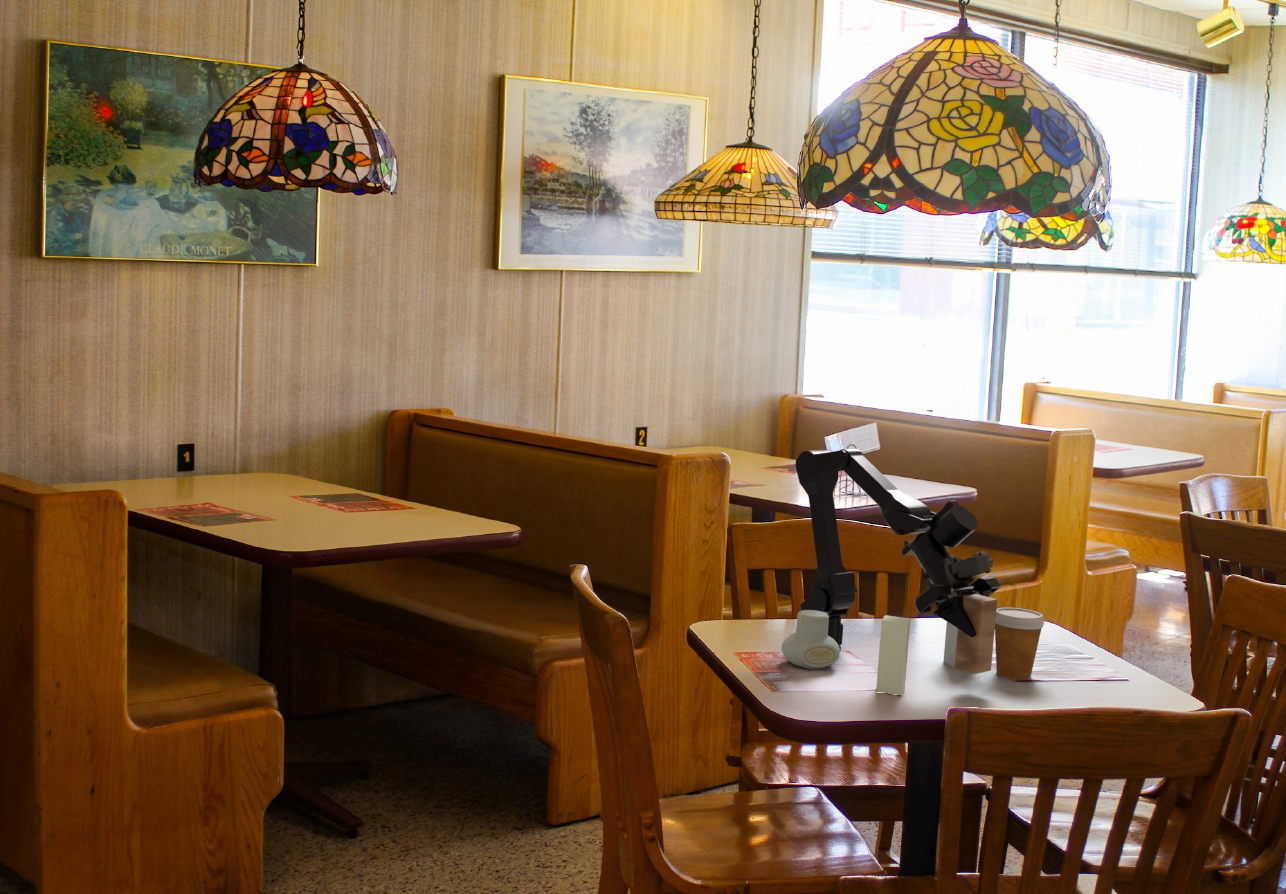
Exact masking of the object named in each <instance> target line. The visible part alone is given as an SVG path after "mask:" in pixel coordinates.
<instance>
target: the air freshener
mask: <svg viewBox="0 0 1286 894" xmlns="http://www.w3.org/2000/svg"><path fill="white" fill-rule="evenodd" d="M796 616H797V618H796V626H795V627H796V628H795V629H796V631H795V632H794V633H791V634H790V635H788V636H787V637H785V638H784V640H783V641H782V644H781V653H782V655H783V656H784V657H785V659H786V661H788V662H790V663H791V664H793V665H795V666H798V667H800V668H803V669H806V668H807V670H813V669H818V670H822V669H824V668H827V667H829V666H831V665H833V664H834V663H835V662H836V661H838V659H839V658H840V654H841V649H840V648H839V646H838V644H837V642H836V641H835V640H834V639H833V638H831V637H830V636H828V622H829V616H828V614H827V613H825V612H821V611H815V610H802V611H801V610H800V611H798V612H797V615H796Z"/></svg>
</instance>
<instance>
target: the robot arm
mask: <svg viewBox="0 0 1286 894" xmlns="http://www.w3.org/2000/svg"><path fill="white" fill-rule="evenodd" d="M794 466H795V470H796V474H797V478H798V482H799V485H800V486H801V487H802V489H803V490H804V492H805V493H806V495H807V497H808V503H809V510H810V511H809V512H810V520H811V527H812V534H813V541H814V542H813V543H814V551H815V559H816V570H815V571H814V572H815V573H814V575H813V578H812V579H811V580H812V581H811V594H810V595H809V596H808V597H807V598H806V599H805V600H804V601H802V602H801V603H800V611H802V610H815V611H821V612H825V613H827V614H828V616H829V622H828V636H830V637H831V638H833V639H834V640H835V641H836V642H837V644H838V646H839V648H840V650H841V649H842V644H843V635H844V634H843V633H844V624H843V623H842V617H841V616H847V615H848V613H849V611H850V608H851V606H852V605H853V604H854V602H855V601H856V593H858V589H857V587H856V575H855V573H854V571H849V572H848V571H847V569H846V567H845V566H844V565H843V562H842V560H843V559H842V554H841V553H842V552H841V546H840V545H841V544H840V535H839V530H838V529H839V528H838V521H837V520H838V519H837V513H836V505H835V498H834V491H835V489H836V486H837V483H838V481H839V472H844V473H845V474H846V475H847V476H848V477H849V478H850V479H851V480H852V481H854V483H855V484H856V485H858V487H860V488H861V490H862V491H863V492H864V493H866V495H868V496H869V498H870V499H872V501H874V503H876V505H878V507H879V508H880V510H881V513H882V518H883V520H884V521H885V522H886V524H887V525H888V526H889V528H890V529H891V530H892V532H893V533H895V534H896V535H898V536H907V535H916V536H915V537H914V538H913V539H909V540H904V541H903V547H902V551H901V555H902V556H909V555H910V556H911V555H912V556H913V555H914V557H916V560H917V561H918V563H919V565H920V566H921V567H922V569H923V571H924V574H923V575H922V576H921V577H922V579H923V580H924V581H925V582H926V581H930V582H931V584H929V586H927V588H925V589H924V590H923V591H921V592H920V594H918V595H917V596H916V597H914V607H915V608H916V611H917V612H918V613H919V615H922V614H928V613H930V612H931V610H932V605H933V604H935V608H936V609H935V610H934V611H933V612H932V615H934V616H935V617H936V616H937V617H938V618H941V619H942V620H944V621H945V622H946V623H947V622H949V623H950V624H952V625H953V626H955V627H956V628H958V629H959V630H961V631H962V632H964V633H965V634H967V635H968V636H970V637H972V638H973V637H975V636H976V635H977V634H976V631H975V629H974V627H973V625H972V623H971V621H970V619H969V617H968V615H967V613H966V611H965V609H964V608H963V596H967V595H974V594H978V595H982V596H986V597H990V598H991V596H993V595H994V594H995V593H996V592H997V591H999V590H1000V589H1001V586H1002V585H1001V584H1000V583H999V580H998V579H997V578H996V577H993V576H990V575H989V576H984V577H978V578H977V579H976V576H979V575H982V574H990V573H992V569H991V568H992V567H993V565H994V559H992V557H991V556H990V555H989V554H988V552H987V551H986V550H985V551H979V552H977V553H973V556H971V557H967V558H964V559H962V558H961V557H959V556H955V557H954V556H953V554H952V553H951V551H950V550H949V549H948V547H949V548H955V547H957V546H958V545H959V544H961V543H962V542H963V541H964V540H965V539H966V538H968V537H969V536H970V535H971V534H973V532H974V531H976V529H978V527H979V524H978V519H977V518H976V516H975V514H974V513H973V512H971V511H970V510H968V509H967V508H966V507H965V506H963V505H960V504H959V502H958V501H957V500H949V501H948V502H946V503H945V505H944V506H943V507H942V508H941V509H940V510H939V511H938V512H937V513H936V512H933V511H931V509H930V508H929V507H928V505H926V504H925V503H923V502H921V501H920V500H919V499H917V498H916V497H914V496H912V495H909V494H906V493H904V492H903V491H901V490H900V489H898V488H897V487H896V486H895V485H894V484H893V483H892V482H891V481H890V480H889V479H888V478H887V477H885V475H884V474H883V473H882V472H881V471H880V470H879V469H878V468H877V467H876V466H875V465H873V464H872V463H871V462H870V461H869V460H868V459H867V457H865V456H864V453H863V452H862V451H861V450H860V449H858V448H841V449H839V450H835V451H831V450H828V449H822V450H820V449H819V450H818V449H817V450H803V451H802V452H800V453H799V455H798V456H797V458H796V459H795V465H794ZM973 581H974V582H973ZM970 583H971V584H970Z"/></svg>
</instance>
